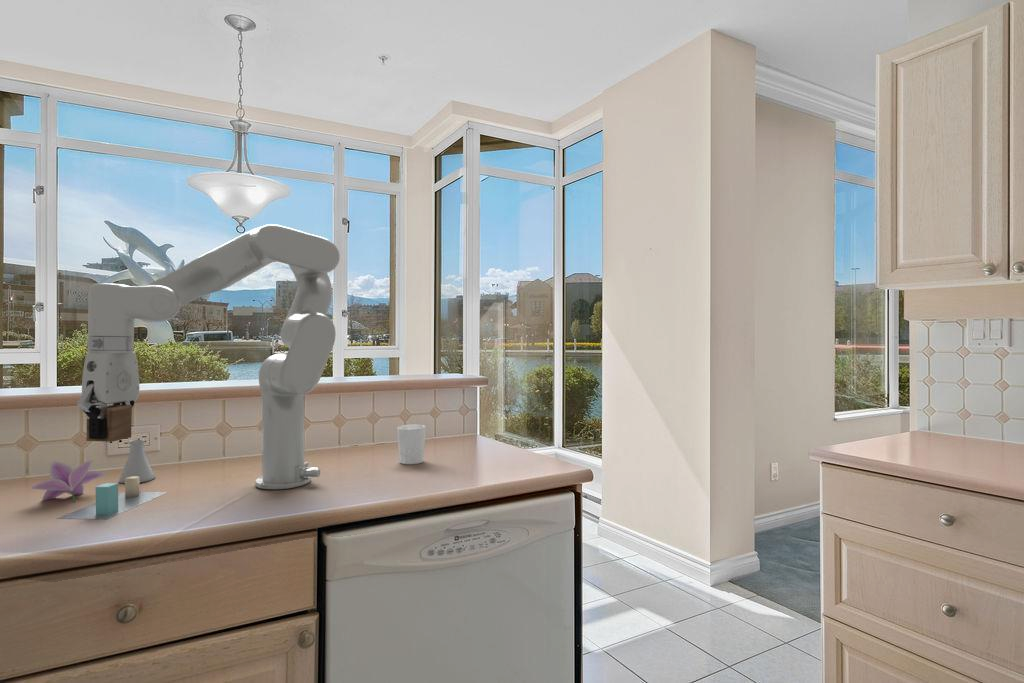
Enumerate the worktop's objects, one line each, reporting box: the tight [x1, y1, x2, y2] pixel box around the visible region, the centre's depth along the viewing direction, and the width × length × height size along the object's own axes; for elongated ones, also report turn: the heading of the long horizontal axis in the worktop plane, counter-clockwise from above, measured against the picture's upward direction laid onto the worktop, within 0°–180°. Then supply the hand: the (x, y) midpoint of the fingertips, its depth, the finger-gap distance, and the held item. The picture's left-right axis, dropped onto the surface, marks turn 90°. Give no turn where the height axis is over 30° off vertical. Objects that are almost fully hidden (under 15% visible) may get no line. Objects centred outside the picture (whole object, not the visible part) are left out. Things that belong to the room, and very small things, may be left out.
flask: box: [118, 438, 156, 485], centre depth 139 cm, size 7×7×10 cm
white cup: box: [397, 424, 426, 465], centre depth 160 cm, size 8×8×10 cm
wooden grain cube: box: [85, 403, 133, 443], centre depth 113 cm, size 5×5×7 cm
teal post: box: [95, 482, 119, 515], centre depth 112 cm, size 3×3×6 cm
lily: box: [30, 460, 107, 504], centre depth 121 cm, size 12×12×10 cm
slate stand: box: [56, 476, 169, 521], centre depth 118 cm, size 10×18×5 cm, turn 177°
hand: (109, 435), depth 113 cm, fingers closed on wooden grain cube, 5 cm apart
